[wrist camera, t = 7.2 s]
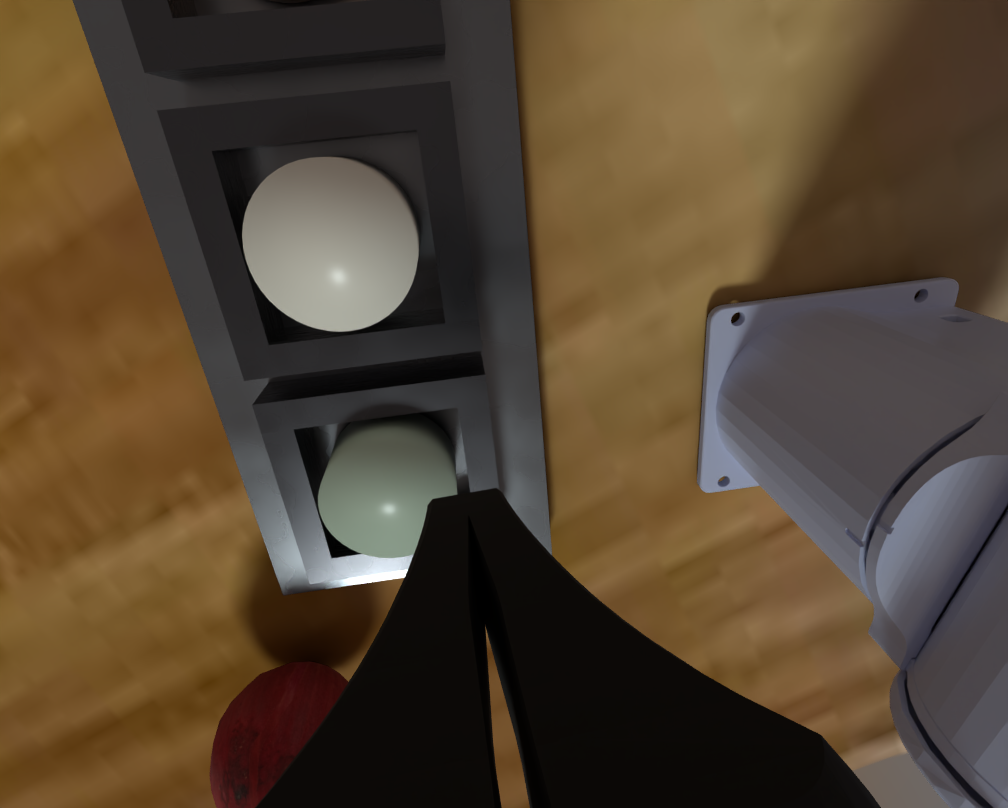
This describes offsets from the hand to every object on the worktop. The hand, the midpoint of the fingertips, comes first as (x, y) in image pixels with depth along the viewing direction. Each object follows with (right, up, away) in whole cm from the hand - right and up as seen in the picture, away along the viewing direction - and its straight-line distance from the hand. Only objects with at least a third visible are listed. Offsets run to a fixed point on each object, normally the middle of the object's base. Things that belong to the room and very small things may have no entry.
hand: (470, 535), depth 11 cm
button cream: (-4, +8, +6) cm, 10 cm away
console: (-4, +8, +7) cm, 12 cm away
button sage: (-3, 0, +9) cm, 10 cm away
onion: (-8, -10, +15) cm, 20 cm away
